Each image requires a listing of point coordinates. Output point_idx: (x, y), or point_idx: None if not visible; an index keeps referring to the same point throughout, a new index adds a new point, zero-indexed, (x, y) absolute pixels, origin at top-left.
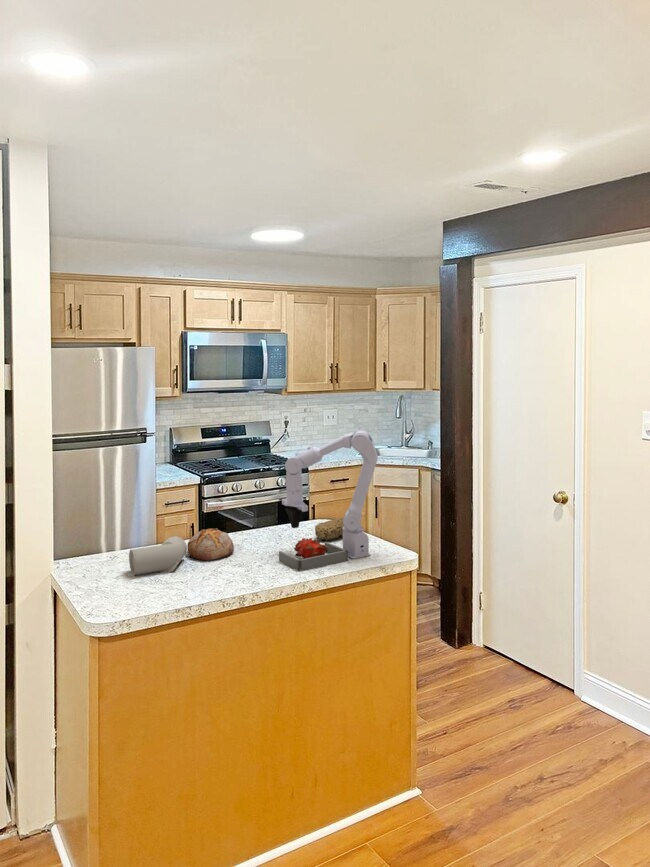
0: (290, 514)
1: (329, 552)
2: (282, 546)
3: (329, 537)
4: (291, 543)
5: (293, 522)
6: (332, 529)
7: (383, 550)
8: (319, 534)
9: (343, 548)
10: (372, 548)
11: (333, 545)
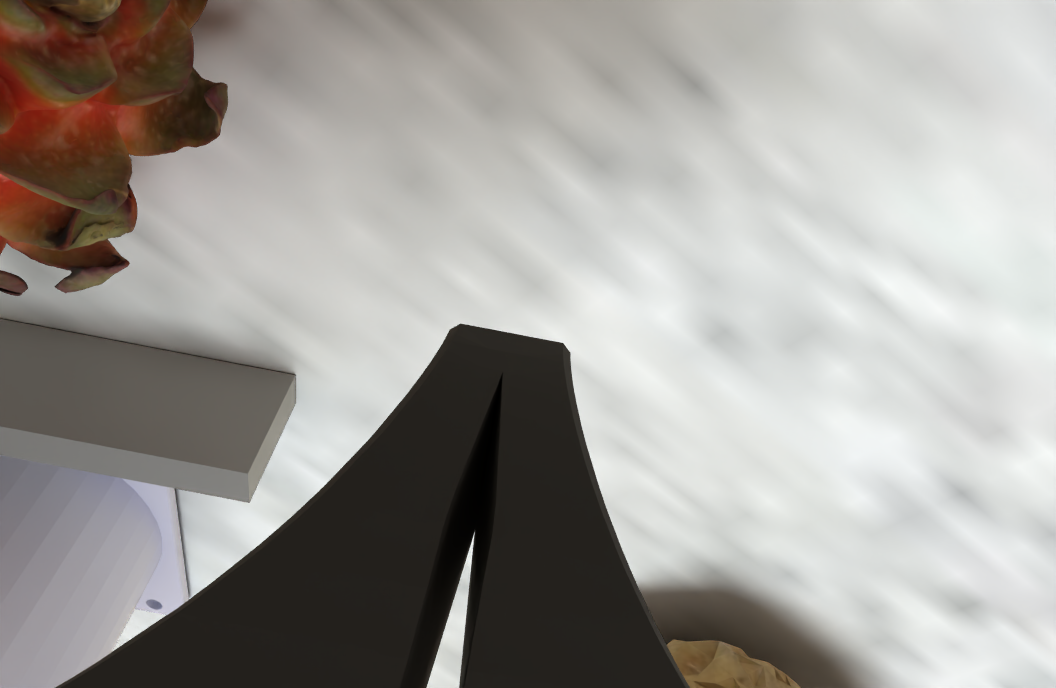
0: (360, 673)
1: (167, 366)
2: (1031, 188)
3: None
4: (992, 379)
5: (379, 436)
6: None
7: None
8: (688, 680)
9: (13, 483)
10: None
11: (39, 447)
